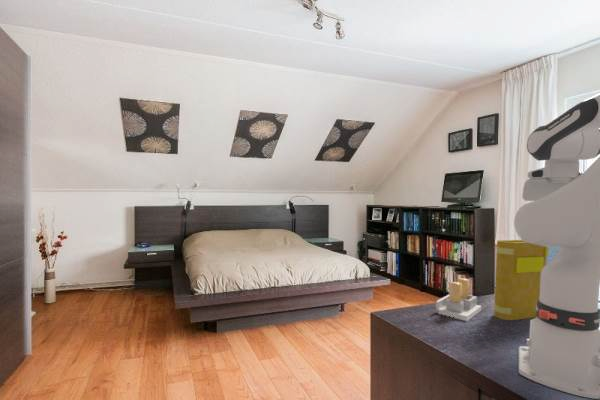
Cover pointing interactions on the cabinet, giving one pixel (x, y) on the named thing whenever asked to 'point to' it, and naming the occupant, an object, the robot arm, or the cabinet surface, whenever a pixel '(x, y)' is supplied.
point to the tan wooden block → (464, 288)
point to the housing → (457, 304)
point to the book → (518, 278)
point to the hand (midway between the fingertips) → (559, 216)
